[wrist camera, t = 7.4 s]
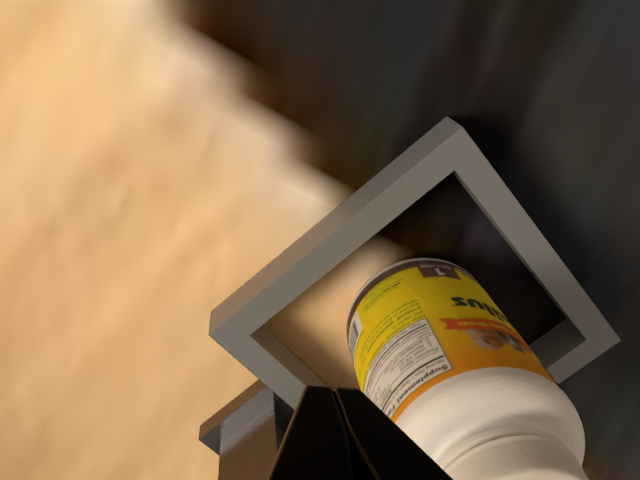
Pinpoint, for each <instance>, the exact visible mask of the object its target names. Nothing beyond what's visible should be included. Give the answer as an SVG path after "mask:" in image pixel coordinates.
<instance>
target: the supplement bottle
mask: <svg viewBox="0 0 640 480" xmlns="http://www.w3.org/2000/svg"><path fill="white" fill-rule="evenodd" d="M346 334H347V340H348V345H349V349H350V353H351V357H352V361H353V365H354V368H355V372H356V376H357V379H358V383H359V386H360V390H361V391H362V392H363V393H364V394H365V395H366V396H367V397H368V398H369V399H370V400H371V401H372V402H373V403H374V404H375V405H376V406H378V407H379V408H380V409H381V410H382V411H383V412H384V413H385V414H386V415H387V416H388V417H389V418H390V419H391V420H392V421H393V422H394V423H395V424H396V425H397V426H398V427H399V428H400V429H401V430H402V431H403V432H405V433H406V434H407V435H408V436H409V437H410V438H411V439H412V440H413V441H414V442H415V443H416V444H417V445H418V446H419V447H420V448H421V449H422V450H423V451H424V452H425V453H426V454H427V455H428V456H429V457H430V458H432V459H433V460H434V461H435V462H436V463H437V464H438V465H439V466H440V467H441V468H442V469H443V470H444V471H445V472H446V473H447V474H448V475H449V476H450V477H451V478H452V479H453V480H589V479H588V478H587V476H586V475H585V473H584V472H583V469H582V462H583V458H584V452H585V436H584V430H583V426H582V422H581V420H580V417H579V415H578V413H577V411H576V409H575V407H574V406H573V404H572V403H571V401H570V400H569V398H568V396H567V395H566V394H565V392H564V391H563V390H562V388H561V387H560V386H559V385H558V383H557V382H556V381H555V380H554V379H553V377H552V376H551V375H550V373H549V372H548V371H547V370H546V368H545V367H544V366H543V364H542V363H541V362H540V361H539V359H538V358H537V357H536V355H535V354H534V353H533V351H532V350H531V349H530V348H529V346H528V345H527V343H526V342H525V341H524V340H523V339H522V338H521V336H520V335H519V334H518V333H517V331H516V330H515V329H514V327H513V326H512V325H511V323H510V322H509V321H508V320H507V319H506V317H505V316H504V314H503V313H502V312H501V311H500V309H499V308H498V307H497V306H496V304H495V303H494V302H493V300H492V299H491V298H490V297H489V295H488V294H487V293H486V291H485V290H484V289H483V288H482V287H481V285H480V284H479V283H478V282H477V281H476V280H475V278H474V277H473V276H472V275H471V274H469V273H468V272H467V271H465V270H464V269H462V268H461V267H459V266H457V265H455V264H453V263H450V262H448V261H444V260H440V259H435V258H413V259H407V260H403V261H400V262H397V263H394V264H392V265H390V266H388V267H386V268H384V269H382V270H381V271H379V272H378V273H376V274H375V275H374V276H372V277H371V278H370V279H369V280H368V281H367V282H366V283H365V284H364V285H363V286H362V287H361V289H360V290H359V292H358V293H357V295H356V296H355V298H354V300H353V302H352V304H351V307H350V309H349V313H348V317H347V325H346Z"/></svg>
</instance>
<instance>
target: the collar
mask: <svg viewBox="0 0 640 480" xmlns="http://www.w3.org/2000/svg"><path fill="white" fill-rule="evenodd" d="M451 172H452V173H453V174H454V175H455V176H456V178H457V179H458V180H459V182H460V183H461V184H462V185H463V187H464V188H465V189H466V191H467V192H468V193H469V194H470V196H471V197H472V198H473V200H474V201H475V202H476V203H477V205H478V206H479V207H480V208H481V210H482V211H483V212H484V214H485V215H486V216H487V217H488V219H489V220H490V221H491V223H492V224H493V225H494V226H495V228H496V229H497V230H498V232H499V233H500V234H501V235H502V237H503V238H504V239H505V241H506V242H507V243H508V244H509V246H510V247H511V248H512V250H513V251H514V252H515V253H516V255H517V256H518V257H519V259H520V260H521V261H522V262H523V264H524V265H525V266H526V267H527V269H528V270H529V271H530V273H531V274H532V275H533V276H534V278H535V279H536V280H537V282H538V283H539V284H540V285H541V287H542V288H543V289H544V291H545V292H546V293H547V294H548V296H549V297H550V298H551V300H552V301H553V302H554V303H555V305H556V306H557V307H558V309H559V310H560V311H561V312H562V314H563V315H564V316H565V318H566V319H565V320H563V321H562V322H560V323H559V324H558V325H556V326H555V327H553V328H552V329H551V330H549V331H548V332H547V333H545V334H544V335H542V336H541V337H540V338H538V339H537V340H535V341H534V342H533V343H531V344H530V345H529V348H530V349H531V350H532V351H533V353H534V354H535V355H536V357H537V358H538V359H539V361H540V362H541V363H542V364H543V366H544V367H545V368H546V370H547V371H548V372H549V373H550V375H551V376H552V377H553V379H554V380H555V381H556V382H557V383H558V384H559V383H561V382H562V381H564V380H565V379H567V378H568V377H569V376H571V375H572V374H574V373H575V372H577V371H578V370H579V369H581V368H582V367H584V366H585V365H587V364H588V363H589V362H591V361H592V360H594V359H595V358H597V357H598V356H599V355H601V354H602V353H604V352H605V351H607V350H608V349H609V348H611V347H612V346H614V345H615V344H617V343H618V342H619V341H621V340H620V338H619V337H618V336H617V334H616V333H615V332H614V330H613V329H612V328H611V326H610V325H609V324H608V322H607V321H606V320H605V318H604V317H603V315H602V314H601V313H600V311H599V310H598V309H597V307H596V306H595V305H594V303H593V302H592V301H591V299H590V298H589V297H588V295H587V294H586V293H585V291H584V290H583V288H582V287H581V286H580V284H579V283H578V282H577V280H576V279H575V278H574V276H573V275H572V274H571V272H570V271H569V270H568V268H567V267H566V266H565V264H564V263H563V262H562V260H561V259H560V257H559V256H558V255H557V253H556V252H555V251H554V249H553V248H552V247H551V245H550V244H549V243H548V241H547V240H546V239H545V237H544V236H543V235H542V233H541V232H540V231H539V229H538V228H537V226H536V225H535V224H534V222H533V221H532V220H531V218H530V217H529V216H528V214H527V213H526V212H525V210H524V209H523V208H522V206H521V205H520V204H519V202H518V201H517V200H516V198H515V197H514V195H513V194H512V193H511V191H510V190H509V189H508V187H507V186H506V185H505V183H504V182H503V181H502V179H501V178H500V177H499V175H498V174H497V173H496V171H495V170H494V169H493V167H492V166H491V164H490V163H489V162H488V160H487V159H486V158H485V156H484V155H483V154H482V152H481V151H480V150H479V148H478V147H477V146H476V144H475V143H474V142H473V140H472V139H471V138H470V136H469V135H468V133H467V132H466V131H465V129H464V128H463V127H462V126H461V125H459V124H458V123H456V122H455V121H453V120H452V119H450V118H449V117H445V118H444V119H443V120H442V121H441V122H439V123H438V124H437V125H436V126H435V127H433V128H432V129H431V130H430V131H428V132H427V133H426V134H425V135H424V136H422V137H421V138H420V139H419V140H418V141H416V142H415V143H414V144H413V145H412V146H410V147H409V148H408V149H407V150H406V151H404V152H403V153H402V154H401V155H400V156H398V157H397V158H396V159H395V160H394V161H392V162H391V163H390V164H389V165H387V166H386V167H385V168H384V169H383V170H381V171H380V172H379V173H378V174H377V175H375V176H374V177H373V178H372V179H371V180H369V181H368V182H367V183H366V184H365V185H363V186H362V187H361V188H360V189H359V190H357V191H356V192H355V193H354V194H353V195H351V196H350V197H349V198H348V199H346V200H345V201H344V202H343V203H342V204H340V205H339V206H338V207H337V208H336V209H334V210H333V211H332V212H331V213H330V214H328V215H327V216H326V217H325V218H324V219H322V220H321V221H320V222H319V223H318V224H316V225H315V226H314V227H313V228H312V229H310V230H309V231H308V232H307V233H305V234H304V235H303V236H302V237H301V238H299V239H298V240H297V241H296V242H295V243H293V244H292V245H291V246H290V247H289V248H287V249H286V250H285V251H284V252H283V253H281V254H280V255H279V256H278V257H277V258H275V259H274V260H273V261H272V262H270V263H269V264H268V265H267V266H266V267H264V268H263V269H262V270H261V271H260V272H258V273H257V274H256V275H255V276H254V277H252V278H251V279H250V280H249V281H248V282H246V283H245V284H244V285H243V286H242V287H240V288H239V289H238V290H237V291H236V292H234V293H233V294H232V295H231V296H229V297H228V298H227V299H226V300H225V301H223V302H222V303H221V304H220V305H219V306H217V307H216V308H215V309H214V310H213V311H211V316H210V326H209V336H210V337H211V338H213V339H214V340H215V341H216V342H217V343H218V344H219V345H221V346H222V347H223V348H224V349H225V350H226V351H227V352H229V353H230V354H231V355H232V356H233V357H234V358H236V359H237V360H238V361H239V362H240V363H241V364H242V365H244V366H245V367H246V368H247V369H248V370H249V371H251V372H252V373H253V374H254V375H255V376H256V377H257V378H259V379H260V380H261V381H262V382H263V383H264V384H265V385H267V386H268V387H269V388H270V389H271V390H272V391H274V392H275V393H276V394H277V395H278V396H279V397H280V398H282V399H283V400H284V401H285V402H286V403H287V404H288V405H290V406H291V407H292V408H293V409H294V410H295V408H296V406H297V404H298V401H299V399H300V396H301V394H302V391H303V389H304V387H305V386H306V385H316V386H328V385H327V384H326V383H325V382H324V381H323V380H322V379H321V378H320V377H319V376H318V375H317V374H315V373H314V372H313V371H312V370H311V369H310V368H309V367H308V366H307V365H306V364H305V363H304V362H302V361H301V360H300V359H299V358H298V357H297V356H296V355H295V354H294V353H293V352H292V351H290V350H289V349H288V348H287V347H286V346H285V345H284V344H283V343H282V342H281V341H280V340H279V339H277V338H276V337H275V336H274V335H273V334H272V333H271V332H270V331H269V330H268V329H267V328H266V327H264V326H263V324H264V323H266V322H267V321H268V320H269V319H270V318H272V317H273V316H274V315H275V314H277V313H278V312H279V311H280V310H282V309H283V308H284V307H285V306H287V305H288V304H289V303H290V302H292V301H293V300H294V299H295V298H297V297H298V296H299V295H300V294H301V293H303V292H304V291H305V290H306V289H308V288H309V287H310V286H311V285H313V284H314V283H315V282H316V281H318V280H319V279H320V278H321V277H323V276H324V275H325V274H326V273H327V272H329V271H330V270H331V269H332V268H334V267H335V266H336V265H337V264H339V263H340V262H341V261H342V260H344V259H345V258H346V257H347V256H349V255H350V254H351V253H352V252H354V251H355V250H356V249H357V248H358V247H360V246H361V245H362V244H363V243H365V242H366V241H367V240H368V239H370V238H371V237H372V236H373V235H375V234H376V233H377V232H378V231H380V230H381V229H382V228H383V227H384V226H386V225H387V224H388V223H389V222H391V221H392V220H393V219H394V218H396V217H397V216H398V215H399V214H401V213H402V212H403V211H404V210H406V209H407V208H408V207H409V206H411V205H412V204H413V203H414V202H415V201H417V200H418V199H419V198H420V197H422V196H423V195H424V194H425V193H427V192H428V191H429V190H430V189H432V188H433V187H434V186H435V185H437V184H438V183H439V182H440V181H442V180H443V179H444V178H445V177H446V176H448V175H449V174H450V173H451ZM328 387H330V386H328ZM330 388H331V387H330ZM331 389H332V388H331ZM332 390H333V389H332Z"/></svg>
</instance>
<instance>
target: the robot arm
mask: <svg viewBox="0 0 640 480" xmlns="http://www.w3.org/2000/svg"><path fill="white" fill-rule="evenodd" d="M267 480H453V479H452V478H451V477H450V476H449V475H448V474H447V473H446V472H445V471H444V470H443V469H442V468H441V467H440V466H439V465H438V464H437V463H436V462H435V461H434V460H433V459H432V458H430V457H429V456H428V455H427V454H426V453H425V452H424V451H423V450H422V449H421V448H420V447H419V446H418V445H417V444H416V443H415V442H414V441H413V440H412V439H411V438H410V437H409V436H408V435H407V434H406V433H405V432H403V431H402V430H401V429H400V428H399V427H398V426H397V425H396V424H395V423H394V422H393V421H392V420H391V419H390V418H389V417H388V416H387V415H386V414H385V413H384V412H383V411H382V410H381V409H380V408H379V407H378V406H376V405H375V404H374V403H373V402H372V401H371V400H370V399H369V398H368V397H367V396H366V395H365V394H364V393H363V392H362V391H361V390H359V389H356V388H342V387H335V388H333V390H332V389H331V388H330V387H328V386H316V385H306V386H305V387H304V389H303V391H302V394H301V396H300V399H299V401H298V404H297V406H296V408H295V411H294V413H293V416H292V418H291V421H290V423H289V426H288V428H287V431H286V433H285V435H284V438H283V440H282V443H281V445H280V448H279V450H278V453H277V455H276V458H275V460H274V462H273V465H272V467H271V470H270V472H269V475H268V477H267Z"/></svg>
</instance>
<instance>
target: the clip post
mask: <svg viewBox="0 0 640 480" xmlns="http://www.w3.org/2000/svg"><path fill="white" fill-rule="evenodd" d="M294 411H295V410H294V409H293V408H292V407H291V406H290V405H288V404H287V403H286V402H285V401H284V400H283V399H282V398H280V397H279V396H278V395H277V394H276V393H275V392H274V391H272V390H271V389H270V388H269V387H268V386H267V385H265V384H264V383H263V382H262V381H261V380H260V379H259V380H258V381H257V382H255V383H254V384H253V385H251V386H250V387H249V388H248V389H246V390H245V391H244V392H243V393H241V394H240V395H239V396H237V397H236V398H235V399H234V400H232V401H231V402H230V403H229V404H227V405H226V406H225V407H223V408H222V409H221V410H220V411H218V412H217V413H216V414H215V415H213V416H212V417H211V418H209V419H208V420H207V421H206V422H204V423H203V424H202V425H201V426H200V432H199V440H200V441H201V442H203V443H204V444H205V445H206V446H208V447H209V448H210V449H212V450H213V451H214V452H216V453H217V454H218V455H219V456H220V458H219V476H218V480H267V477H268V475H269V472H270V470H271V467H272V465H273V462H274V460H275V458H276V455H277V453H278V450H279V448H280V445H281V443H282V440H283V438H284V435H285V433H286V431H287V428H288V426H289V423H290V421H291V418H292V416H293V413H294Z"/></svg>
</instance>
